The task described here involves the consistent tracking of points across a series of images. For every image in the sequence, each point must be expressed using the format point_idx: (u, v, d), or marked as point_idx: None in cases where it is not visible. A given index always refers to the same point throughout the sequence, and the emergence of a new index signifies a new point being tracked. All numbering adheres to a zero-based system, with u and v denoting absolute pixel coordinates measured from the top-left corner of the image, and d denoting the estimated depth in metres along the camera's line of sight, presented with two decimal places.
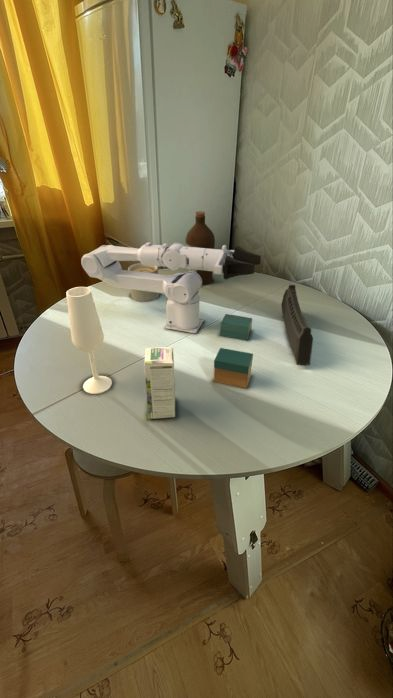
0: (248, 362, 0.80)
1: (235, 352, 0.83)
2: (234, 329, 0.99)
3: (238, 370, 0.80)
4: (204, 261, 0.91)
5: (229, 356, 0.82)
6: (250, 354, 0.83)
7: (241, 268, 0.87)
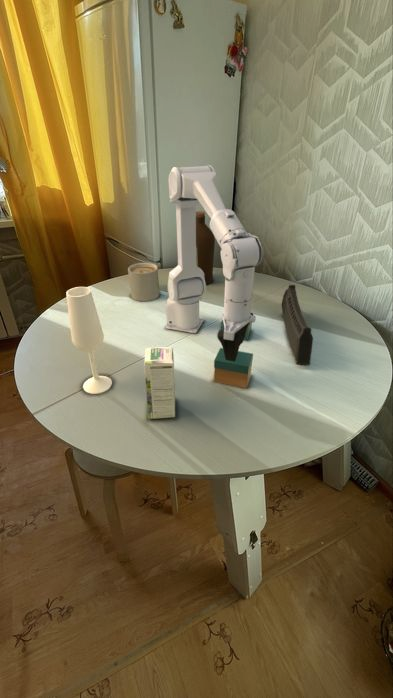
0: (248, 362, 0.80)
1: None
2: None
3: (238, 370, 0.80)
4: (236, 304, 0.71)
5: None
6: (250, 354, 0.83)
7: (230, 349, 0.76)
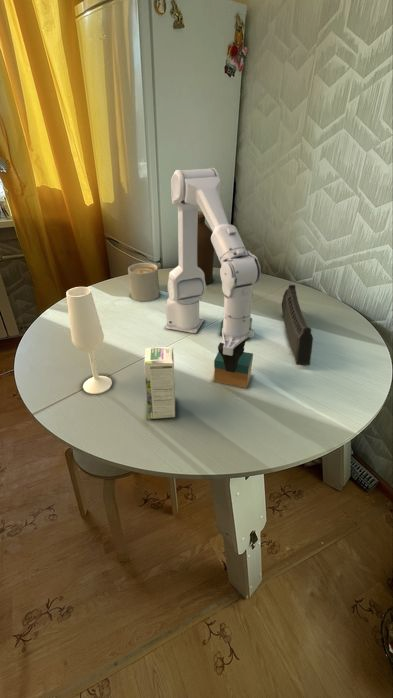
0: (248, 362, 0.80)
1: None
2: None
3: (238, 370, 0.80)
4: (235, 320, 0.73)
5: None
6: (250, 354, 0.83)
7: (230, 361, 0.78)
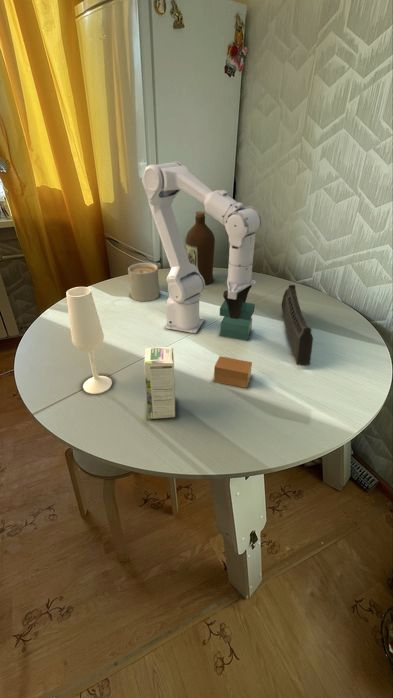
0: (250, 310, 0.89)
1: None
2: (234, 329, 0.99)
3: (241, 317, 0.89)
4: (239, 268, 0.82)
5: None
6: (252, 304, 0.91)
7: (234, 308, 0.87)
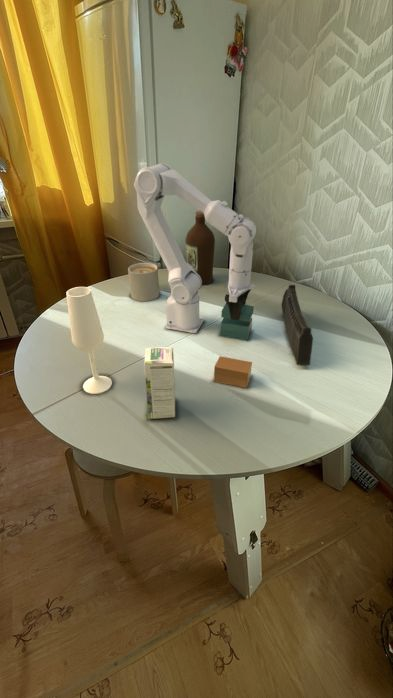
0: (250, 311, 0.97)
1: None
2: (234, 329, 0.99)
3: (241, 319, 0.97)
4: (239, 273, 0.90)
5: None
6: (251, 306, 0.99)
7: (235, 310, 0.95)
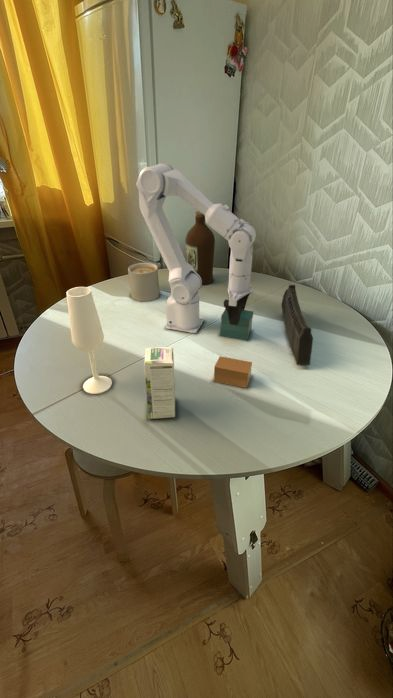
0: (249, 317, 0.97)
1: None
2: (234, 329, 0.99)
3: (240, 324, 0.98)
4: (239, 278, 0.90)
5: None
6: (251, 311, 1.00)
7: (234, 315, 0.95)
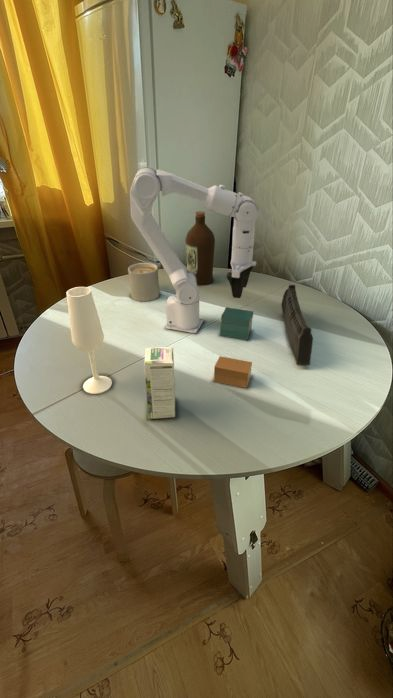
0: (249, 317, 0.97)
1: (238, 310, 1.01)
2: (234, 329, 0.99)
3: (240, 324, 0.98)
4: (241, 250, 0.92)
5: (234, 313, 0.99)
6: (251, 311, 1.00)
7: (237, 288, 0.97)
